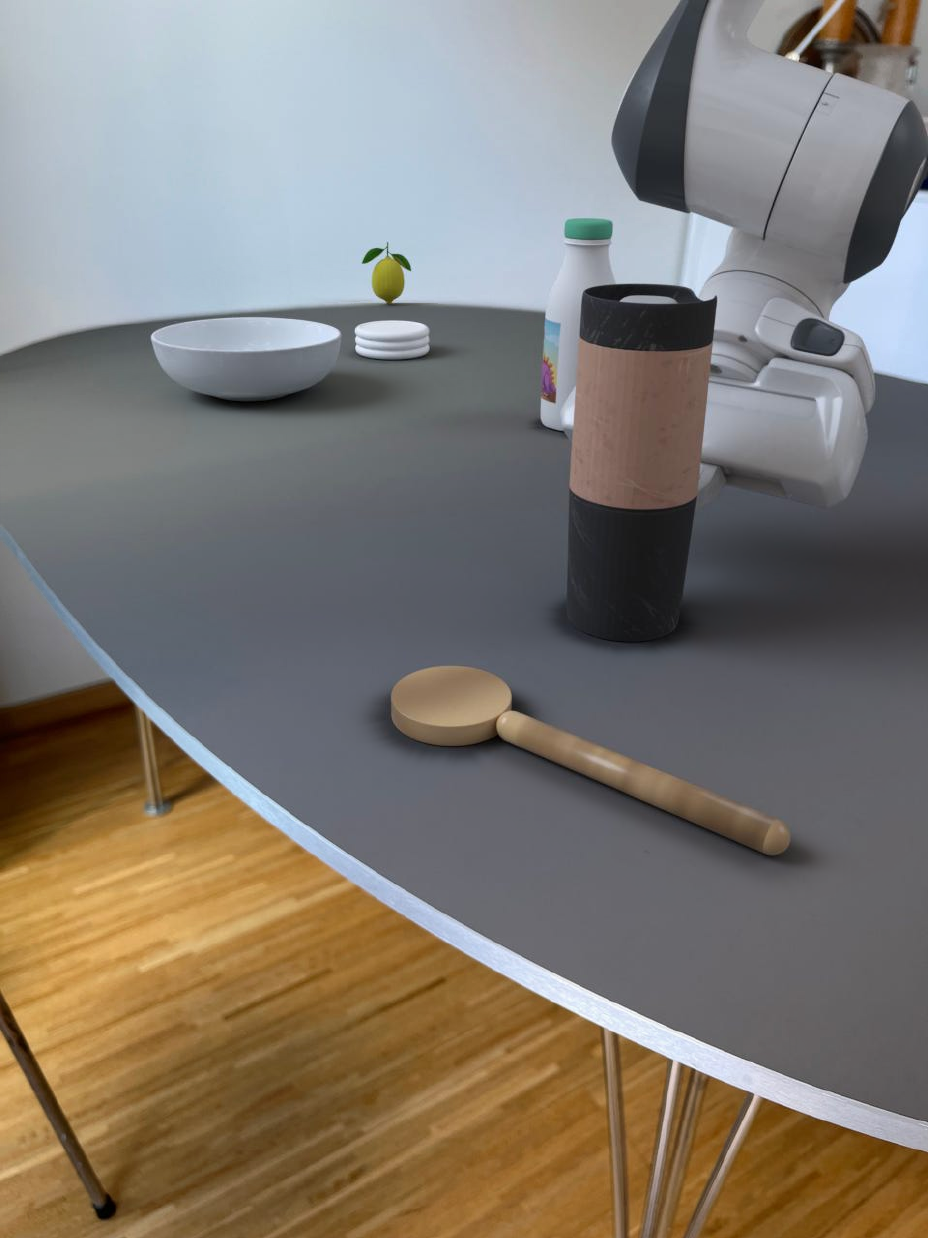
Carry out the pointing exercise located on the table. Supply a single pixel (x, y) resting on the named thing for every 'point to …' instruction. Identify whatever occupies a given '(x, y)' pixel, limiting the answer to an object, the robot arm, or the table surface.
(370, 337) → the coaster
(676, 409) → the travel mug
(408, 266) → the lemon
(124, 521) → the table surface
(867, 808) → the table surface
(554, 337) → the milk bottle
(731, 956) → the table surface
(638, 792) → the wooden spoon
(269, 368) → the serving bowl
